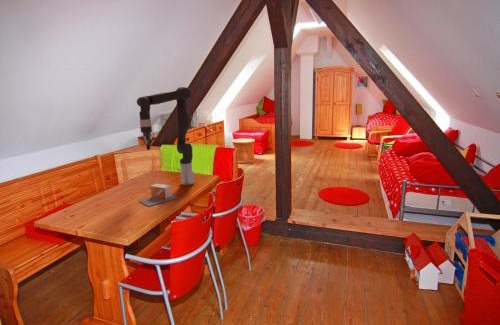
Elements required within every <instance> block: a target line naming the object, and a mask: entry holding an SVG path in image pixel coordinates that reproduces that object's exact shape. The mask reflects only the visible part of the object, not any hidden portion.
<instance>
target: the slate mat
mask: <svg viewBox="0 0 500 325" xmlns="http://www.w3.org/2000/svg"><path fill="white" fill-rule="evenodd" d="M175 199H176V200H177V199H179V197H178V196H177V195H174V194H172V193H171V197H169V198H167V199H163V198H157V197H152V196H151V197H148V198H144V199H141V200H139V201H138V202H139V203H141V204H142V205H145V206H146V207H148V208H149V207H150V208H151V207H152V206H156V205H160V204H163V203H166V202H169V201H172V200H173V201H174V200H175Z"/></svg>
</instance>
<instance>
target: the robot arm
mask: <svg viewBox="0 0 500 325" xmlns="http://www.w3.org/2000/svg"><path fill="white" fill-rule="evenodd" d="M191 96H192V91H191V89H190V88H189V87H187V86H180V87H178V88H177V89H176V90H174V91H173V90H172V91H168V92H166V91H165V92H160V93H155V94H151V95H143V96H140V97H138V98H137V100H136V104H137V106H138V107H140V111H139V127H140V133H142V136H141V139H142V141H143V144H145V148H146V150H147V151H149V150H151V144H153V140H154V136H153V137H152V135H151V134H152V132H153V129H152V128H153V126H152V120H151V114H150V113H151V112H150V111H151V105H153V106H156V105H160V104H164V103H167V102H172V101H176V106H177V107H176V111H177V112H176V114H177V115H176V116H177V118H176V119H177V120H176V121H177V123H176V124H177V140H176V141H177V142H176V151H177V152H178V153H179V154H182V158H180V159H179V166H180V167H179V168H180V179H181V185H182V186H190V185H193V184H194V183H195V175H194V174H195V172H194V170H193V158H194V157H193V145H192V144H191V143H189V142H186V138H187V136H186V135H187V133H188V131H189V129H190V114H189V111H188V109H187V100H188V99H190V98H191Z"/></svg>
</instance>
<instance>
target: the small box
mask: <svg viewBox="0 0 500 325" xmlns="http://www.w3.org/2000/svg"><path fill="white" fill-rule="evenodd" d="M149 188H150V196H151V197H157V198H163V199H167V198H169V197H171V194H172V187H171V185H169V184H164V183H163V184H161V183H154V184H152V185H150V187H149Z"/></svg>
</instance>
